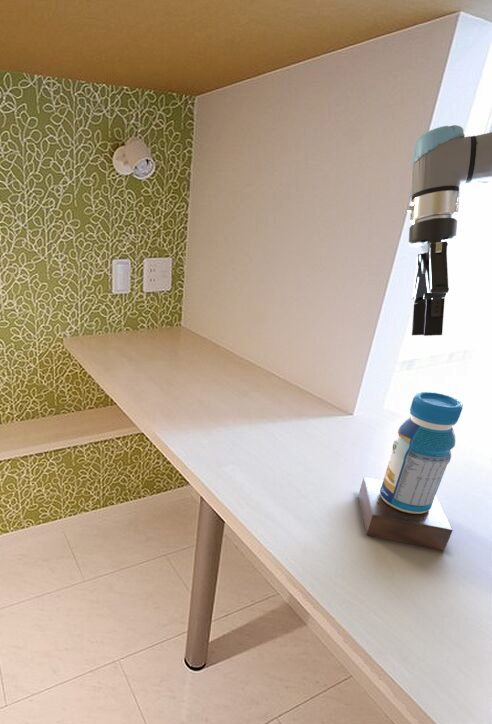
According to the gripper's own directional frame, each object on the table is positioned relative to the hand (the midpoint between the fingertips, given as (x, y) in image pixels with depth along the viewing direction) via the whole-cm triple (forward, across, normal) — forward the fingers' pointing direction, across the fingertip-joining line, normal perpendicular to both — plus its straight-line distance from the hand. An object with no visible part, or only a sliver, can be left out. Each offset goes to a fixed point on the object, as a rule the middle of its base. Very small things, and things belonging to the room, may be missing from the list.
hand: (425, 335), depth 85 cm
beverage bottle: (+29, +15, -4) cm, 33 cm away
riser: (+33, +14, -5) cm, 37 cm away
